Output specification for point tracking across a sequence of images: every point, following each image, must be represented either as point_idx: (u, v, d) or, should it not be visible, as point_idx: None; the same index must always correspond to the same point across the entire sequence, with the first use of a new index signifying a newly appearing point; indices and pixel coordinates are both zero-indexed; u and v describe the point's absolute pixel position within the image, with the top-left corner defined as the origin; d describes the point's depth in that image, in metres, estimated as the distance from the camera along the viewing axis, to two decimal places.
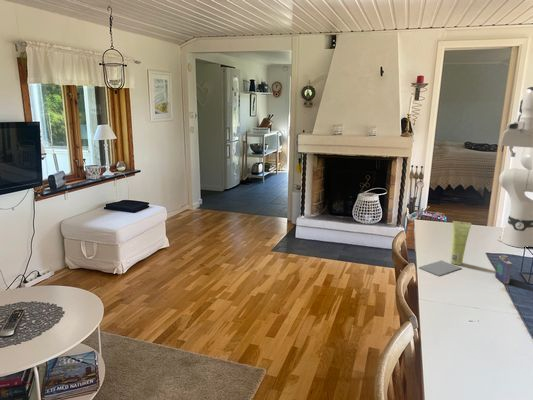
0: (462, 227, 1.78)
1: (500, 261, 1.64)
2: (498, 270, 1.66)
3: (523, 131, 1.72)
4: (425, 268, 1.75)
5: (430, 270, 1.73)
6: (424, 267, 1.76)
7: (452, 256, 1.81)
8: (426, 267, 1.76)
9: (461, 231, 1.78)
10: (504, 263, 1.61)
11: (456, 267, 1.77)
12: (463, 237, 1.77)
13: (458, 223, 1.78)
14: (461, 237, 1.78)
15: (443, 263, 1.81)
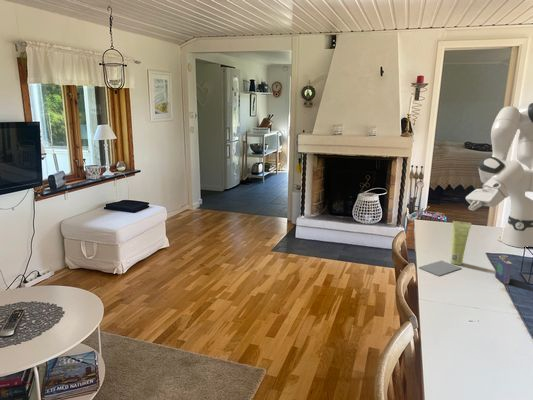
0: (462, 227, 1.78)
1: (500, 261, 1.64)
2: (498, 270, 1.66)
3: None
4: (425, 268, 1.75)
5: (430, 270, 1.73)
6: (424, 267, 1.76)
7: (452, 256, 1.81)
8: (426, 267, 1.76)
9: (461, 231, 1.78)
10: (504, 263, 1.61)
11: (456, 267, 1.77)
12: (463, 237, 1.77)
13: (458, 223, 1.78)
14: (461, 237, 1.78)
15: (443, 263, 1.81)
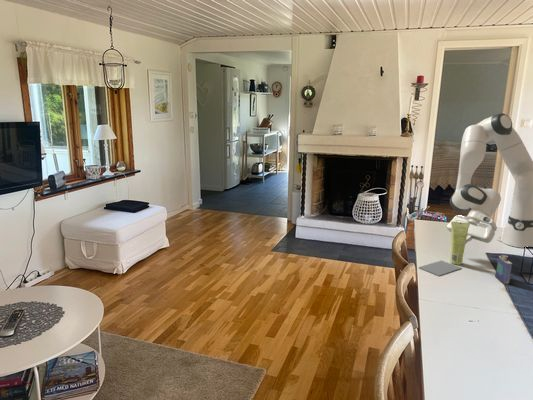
0: (461, 227, 1.77)
1: (500, 261, 1.64)
2: (498, 270, 1.66)
3: None
4: (425, 268, 1.75)
5: (430, 270, 1.73)
6: (424, 267, 1.76)
7: (452, 256, 1.81)
8: (426, 267, 1.76)
9: (460, 231, 1.77)
10: (504, 263, 1.61)
11: (456, 267, 1.77)
12: (462, 238, 1.77)
13: (456, 223, 1.78)
14: (460, 237, 1.77)
15: (443, 263, 1.81)
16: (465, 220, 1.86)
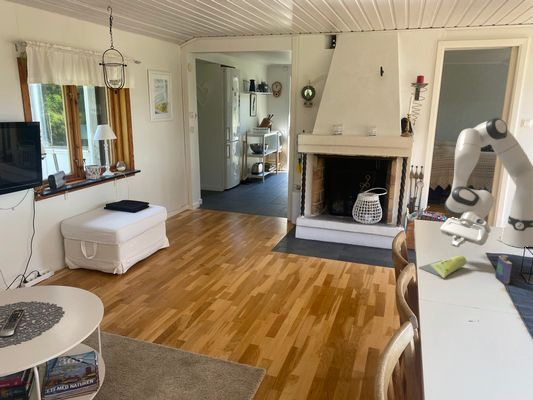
0: None
1: (500, 261, 1.64)
2: (498, 270, 1.66)
3: None
4: (425, 268, 1.75)
5: (430, 270, 1.73)
6: (424, 267, 1.76)
7: None
8: (426, 267, 1.76)
9: None
10: (504, 263, 1.61)
11: None
12: None
13: None
14: None
15: None
16: (458, 222, 1.83)
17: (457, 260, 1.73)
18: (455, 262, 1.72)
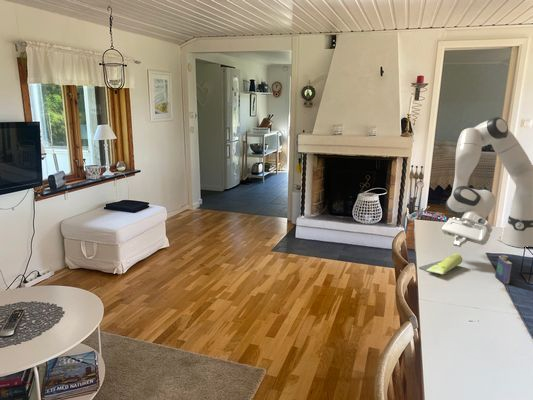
0: None
1: (500, 261, 1.64)
2: (498, 270, 1.66)
3: None
4: (425, 268, 1.75)
5: None
6: (424, 267, 1.76)
7: None
8: (426, 267, 1.76)
9: None
10: (504, 263, 1.61)
11: (456, 267, 1.77)
12: None
13: None
14: None
15: None
16: (460, 222, 1.83)
17: (450, 257, 1.75)
18: (449, 259, 1.73)
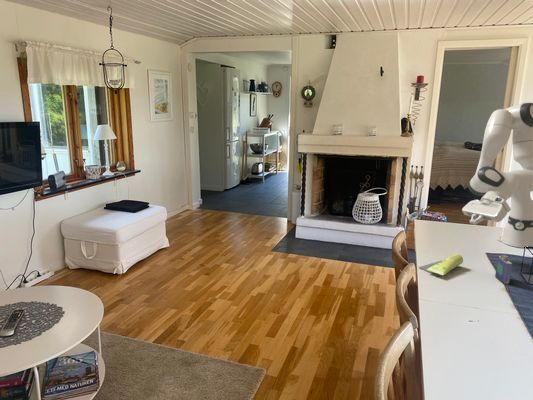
0: None
1: (500, 261, 1.64)
2: (498, 270, 1.66)
3: None
4: (425, 268, 1.75)
5: None
6: (424, 267, 1.76)
7: None
8: (426, 267, 1.76)
9: None
10: (504, 263, 1.61)
11: (456, 267, 1.77)
12: None
13: None
14: None
15: None
16: (479, 202, 1.86)
17: (452, 258, 1.74)
18: (450, 260, 1.73)
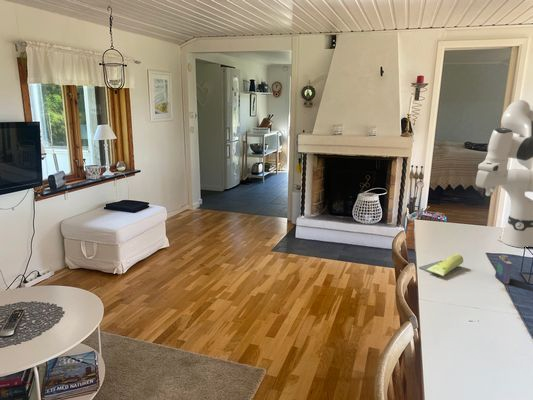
0: None
1: (500, 261, 1.64)
2: (498, 270, 1.66)
3: (497, 172, 1.76)
4: (425, 268, 1.75)
5: None
6: (424, 267, 1.76)
7: None
8: (426, 267, 1.76)
9: None
10: (504, 263, 1.61)
11: (456, 267, 1.77)
12: None
13: None
14: None
15: None
16: None
17: (452, 258, 1.74)
18: (450, 260, 1.73)
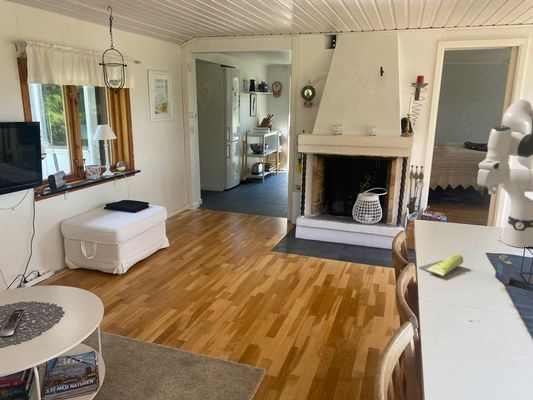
0: None
1: (500, 261, 1.64)
2: (498, 270, 1.66)
3: (498, 170, 1.75)
4: (425, 268, 1.75)
5: None
6: (424, 267, 1.76)
7: None
8: (426, 267, 1.76)
9: None
10: (504, 263, 1.61)
11: (456, 267, 1.77)
12: None
13: None
14: None
15: None
16: None
17: (452, 258, 1.74)
18: (450, 260, 1.73)
